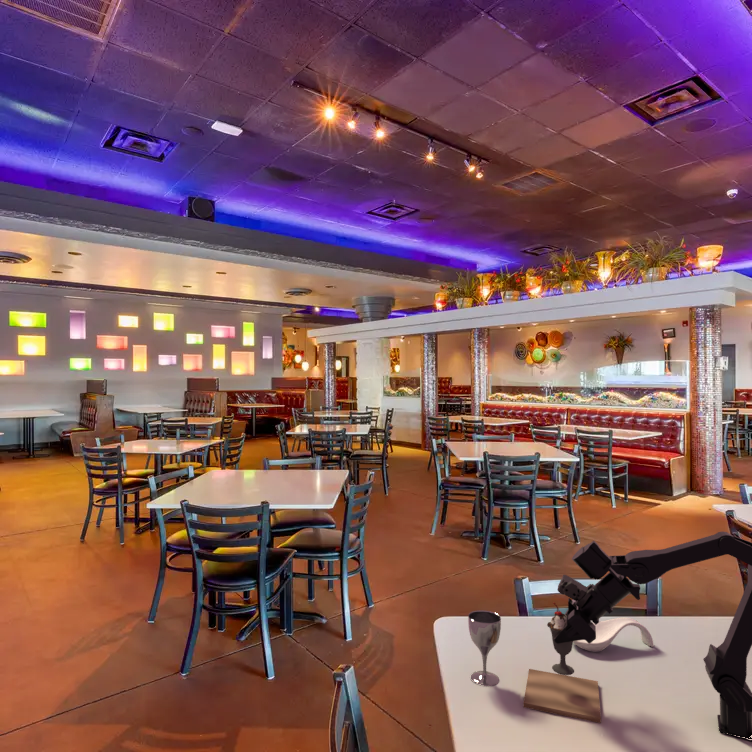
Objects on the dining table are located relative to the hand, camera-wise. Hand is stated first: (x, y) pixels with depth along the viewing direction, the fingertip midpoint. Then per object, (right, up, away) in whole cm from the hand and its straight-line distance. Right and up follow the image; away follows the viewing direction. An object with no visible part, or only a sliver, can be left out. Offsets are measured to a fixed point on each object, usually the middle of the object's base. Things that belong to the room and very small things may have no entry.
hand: (556, 635), depth 123 cm
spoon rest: (+23, -15, +24) cm, 37 cm away
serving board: (+1, -13, -2) cm, 13 cm away
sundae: (+1, -8, -1) cm, 8 cm away
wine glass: (-16, -14, +6) cm, 22 cm away
